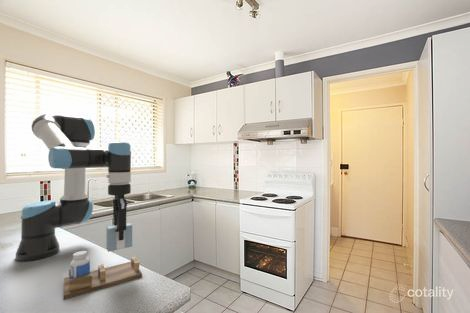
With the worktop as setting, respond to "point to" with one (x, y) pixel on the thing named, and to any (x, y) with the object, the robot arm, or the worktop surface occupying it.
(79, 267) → the pill bottle
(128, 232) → the block
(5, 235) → the worktop surface
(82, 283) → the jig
